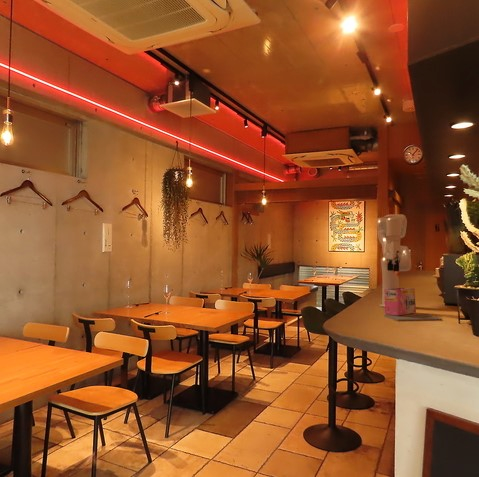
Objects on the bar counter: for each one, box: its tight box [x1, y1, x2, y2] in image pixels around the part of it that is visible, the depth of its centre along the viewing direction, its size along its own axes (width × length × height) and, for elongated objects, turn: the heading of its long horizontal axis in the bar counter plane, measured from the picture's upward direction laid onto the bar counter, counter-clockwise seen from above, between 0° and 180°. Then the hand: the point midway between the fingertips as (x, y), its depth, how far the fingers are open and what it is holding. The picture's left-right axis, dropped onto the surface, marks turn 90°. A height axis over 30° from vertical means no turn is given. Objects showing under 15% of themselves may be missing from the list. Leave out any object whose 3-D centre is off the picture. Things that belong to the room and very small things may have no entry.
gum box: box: [384, 287, 417, 316], centre depth 226 cm, size 24×8×14 cm, turn 135°
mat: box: [383, 313, 443, 322], centre depth 214 cm, size 14×24×1 cm, turn 98°
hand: (393, 270), depth 234 cm, fingers open, 5 cm apart
